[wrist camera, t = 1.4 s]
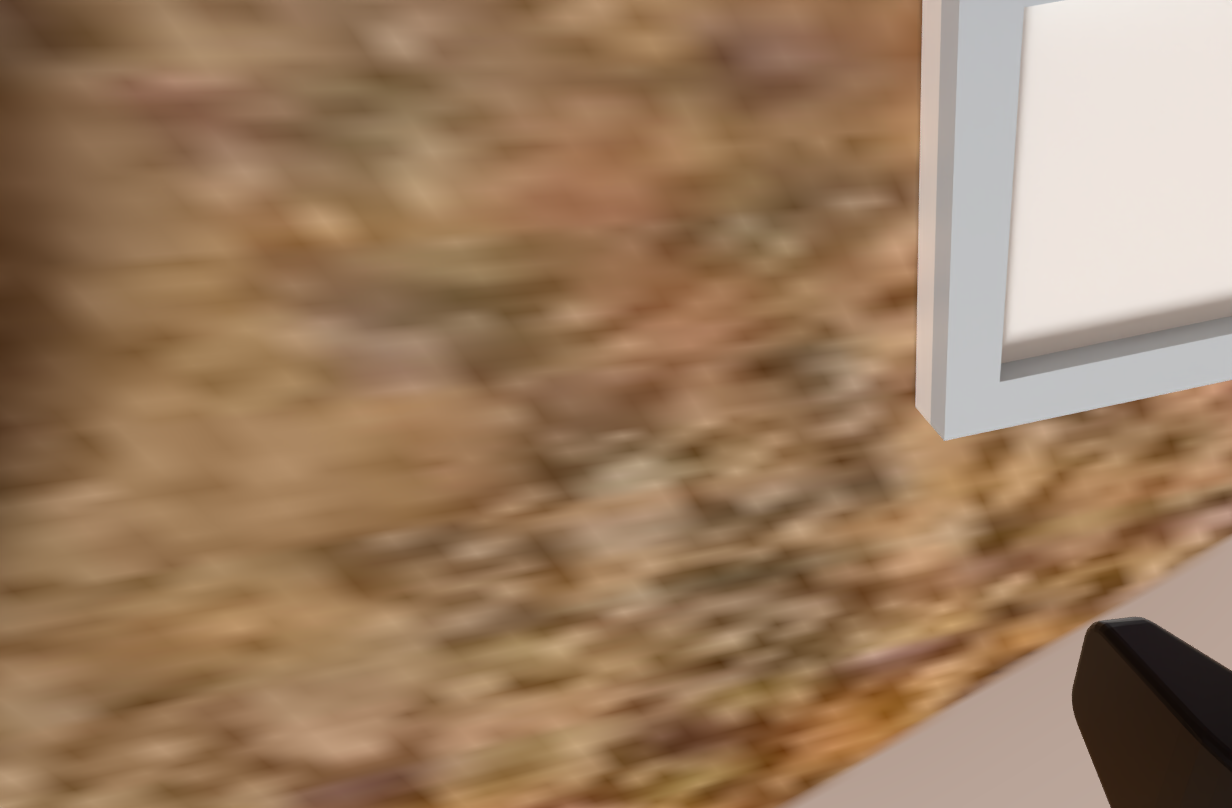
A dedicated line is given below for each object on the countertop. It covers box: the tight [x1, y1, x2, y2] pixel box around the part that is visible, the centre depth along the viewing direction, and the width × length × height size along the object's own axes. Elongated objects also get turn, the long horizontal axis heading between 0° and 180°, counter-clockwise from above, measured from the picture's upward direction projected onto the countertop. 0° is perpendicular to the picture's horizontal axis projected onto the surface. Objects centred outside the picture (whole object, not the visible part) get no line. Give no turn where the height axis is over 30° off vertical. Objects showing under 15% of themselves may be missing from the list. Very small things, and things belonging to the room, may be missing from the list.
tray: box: [915, 0, 1232, 441], centre depth 21 cm, size 10×10×2 cm
